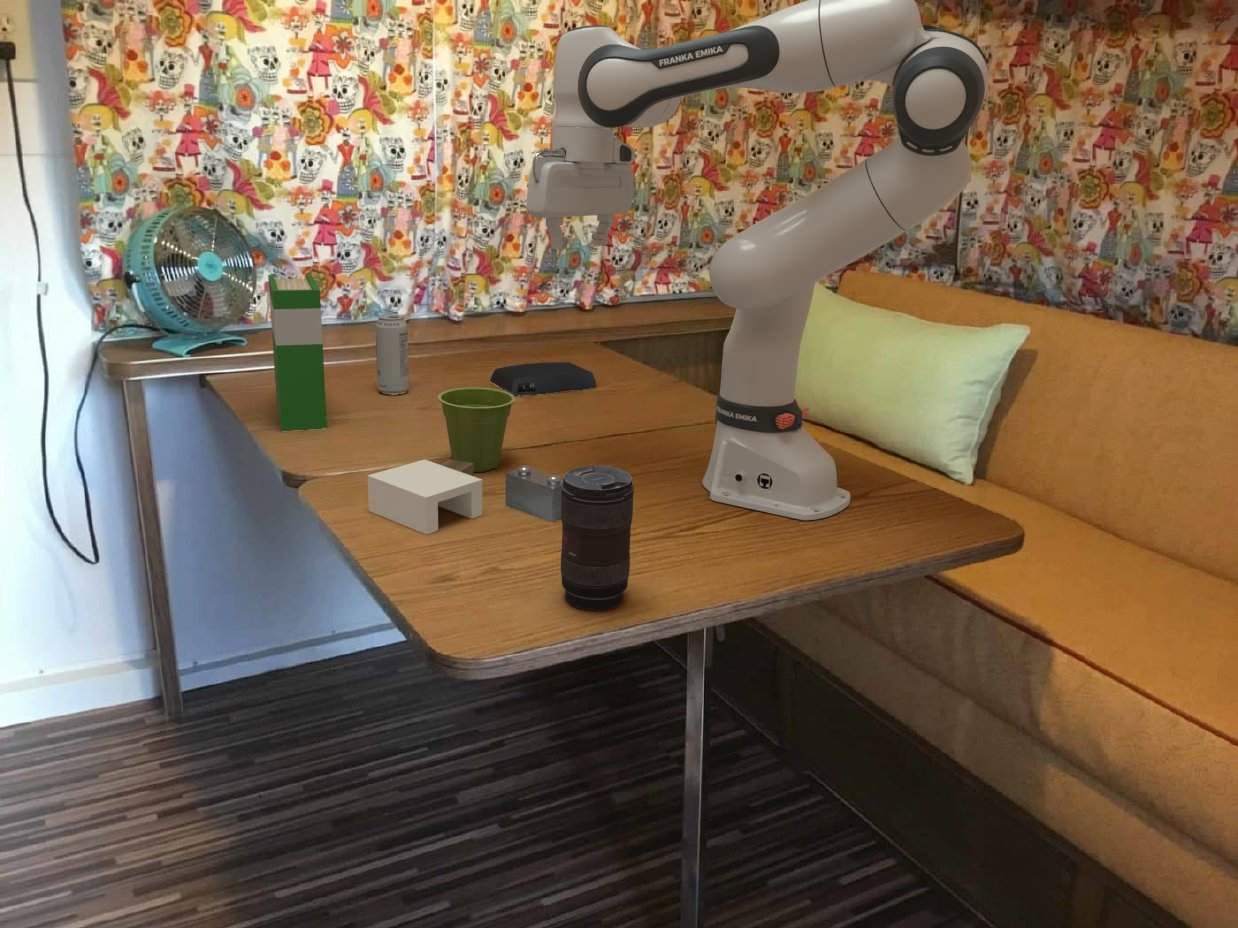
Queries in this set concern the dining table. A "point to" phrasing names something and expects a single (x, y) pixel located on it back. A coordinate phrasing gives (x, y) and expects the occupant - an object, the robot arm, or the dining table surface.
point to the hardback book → (298, 353)
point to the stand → (423, 494)
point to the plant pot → (476, 424)
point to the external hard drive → (542, 378)
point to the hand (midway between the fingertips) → (579, 247)
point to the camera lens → (596, 536)
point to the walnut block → (459, 466)
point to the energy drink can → (392, 354)
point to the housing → (534, 492)
